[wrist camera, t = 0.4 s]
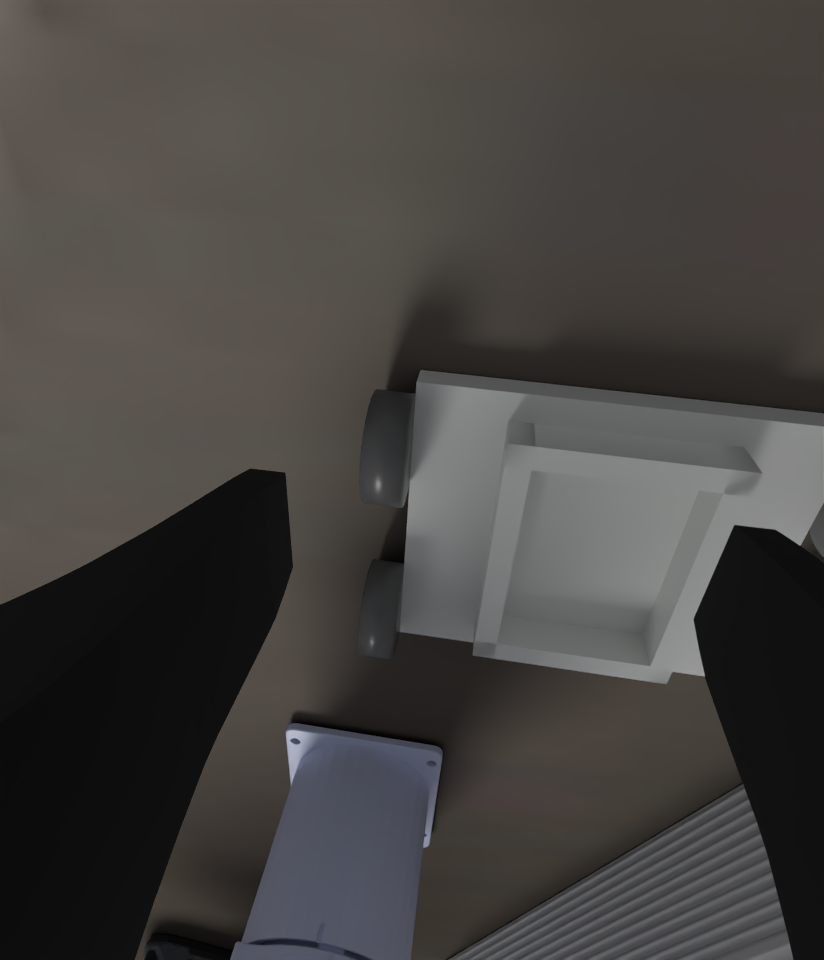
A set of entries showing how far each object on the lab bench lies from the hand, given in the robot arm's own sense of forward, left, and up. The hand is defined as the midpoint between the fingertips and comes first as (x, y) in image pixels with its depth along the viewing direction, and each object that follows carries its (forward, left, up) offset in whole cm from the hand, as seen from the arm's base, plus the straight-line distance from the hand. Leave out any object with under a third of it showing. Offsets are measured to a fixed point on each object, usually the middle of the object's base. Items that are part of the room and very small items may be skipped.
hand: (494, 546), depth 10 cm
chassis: (-6, -4, -10) cm, 13 cm away
